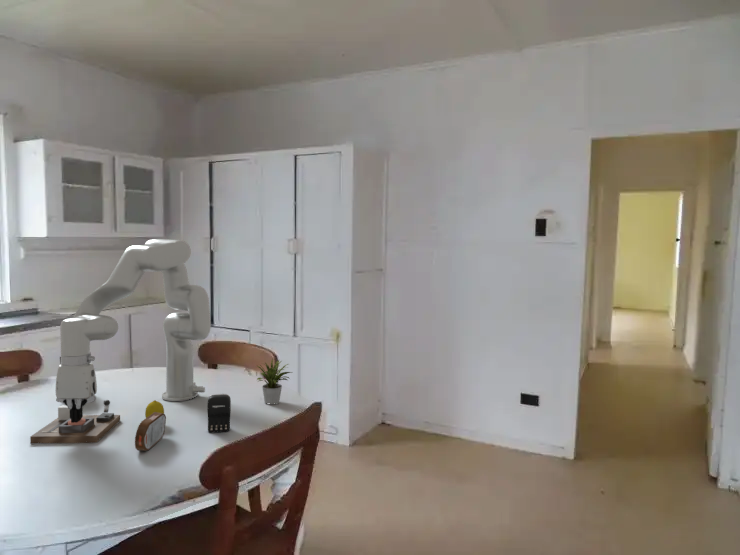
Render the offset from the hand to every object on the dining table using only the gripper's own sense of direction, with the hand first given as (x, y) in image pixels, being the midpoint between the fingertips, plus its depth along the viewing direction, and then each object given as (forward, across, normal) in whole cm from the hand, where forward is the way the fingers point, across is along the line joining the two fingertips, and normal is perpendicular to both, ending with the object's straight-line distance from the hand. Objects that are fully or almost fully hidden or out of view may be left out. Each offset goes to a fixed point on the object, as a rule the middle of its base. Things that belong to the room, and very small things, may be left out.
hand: (76, 420), depth 155 cm
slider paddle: (+2, +6, -8) cm, 11 cm away
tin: (+5, -24, +8) cm, 26 cm away
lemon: (+5, -20, -8) cm, 22 cm away
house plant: (+4, -54, -29) cm, 62 cm away
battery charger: (+5, -41, -2) cm, 41 cm away
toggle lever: (+1, -5, -8) cm, 10 cm away
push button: (+2, 0, 0) cm, 2 cm away
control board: (+4, +1, -3) cm, 5 cm away
